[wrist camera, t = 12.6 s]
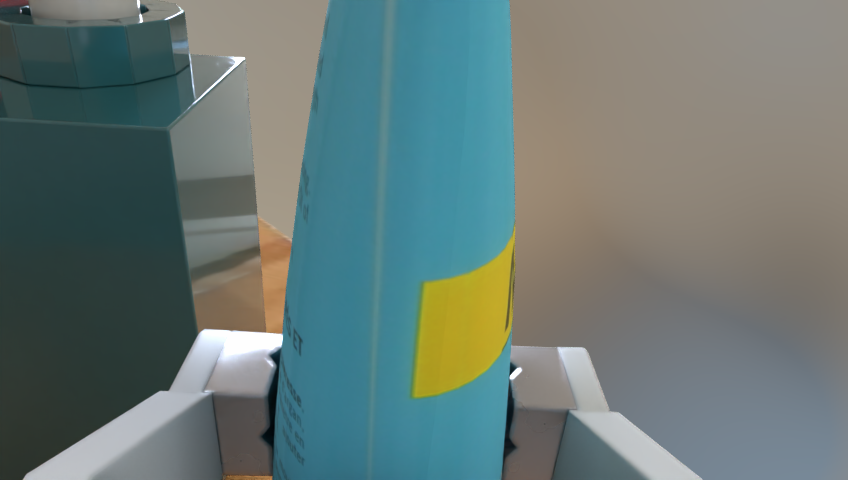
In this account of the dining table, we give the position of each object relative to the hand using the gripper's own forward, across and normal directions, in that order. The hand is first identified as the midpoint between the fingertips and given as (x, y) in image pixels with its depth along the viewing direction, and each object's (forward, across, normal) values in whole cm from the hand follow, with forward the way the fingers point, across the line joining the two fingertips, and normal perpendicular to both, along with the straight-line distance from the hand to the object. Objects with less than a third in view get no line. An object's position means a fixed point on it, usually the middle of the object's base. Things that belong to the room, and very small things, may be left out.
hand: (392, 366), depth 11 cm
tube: (-1, 0, +10) cm, 10 cm away
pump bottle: (+13, +12, +15) cm, 23 cm away
